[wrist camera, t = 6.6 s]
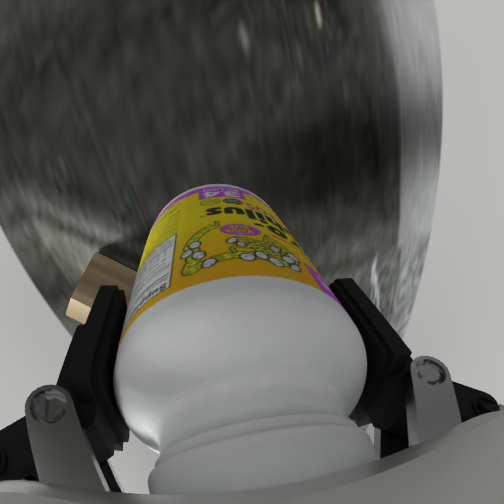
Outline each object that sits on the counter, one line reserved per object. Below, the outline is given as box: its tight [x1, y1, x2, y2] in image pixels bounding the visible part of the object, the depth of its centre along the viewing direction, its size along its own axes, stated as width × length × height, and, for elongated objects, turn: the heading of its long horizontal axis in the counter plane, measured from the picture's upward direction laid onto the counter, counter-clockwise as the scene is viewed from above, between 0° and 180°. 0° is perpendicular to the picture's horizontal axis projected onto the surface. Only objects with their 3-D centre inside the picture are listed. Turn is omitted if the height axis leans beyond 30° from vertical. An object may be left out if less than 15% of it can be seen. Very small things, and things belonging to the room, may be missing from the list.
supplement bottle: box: [113, 184, 380, 495], centre depth 10 cm, size 7×7×13 cm
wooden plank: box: [66, 252, 137, 324], centre depth 22 cm, size 2×18×6 cm, turn 55°
